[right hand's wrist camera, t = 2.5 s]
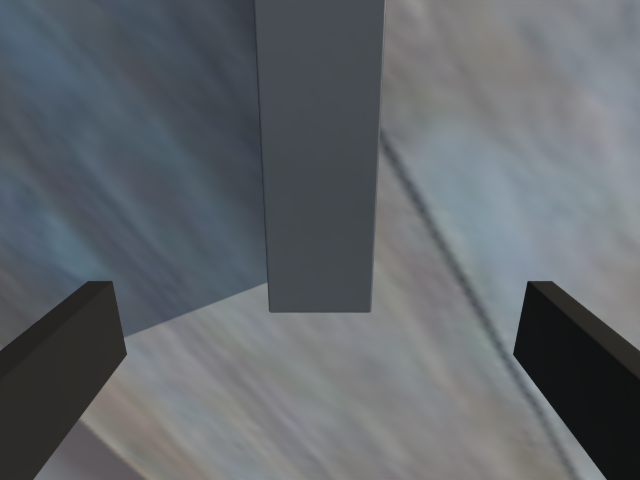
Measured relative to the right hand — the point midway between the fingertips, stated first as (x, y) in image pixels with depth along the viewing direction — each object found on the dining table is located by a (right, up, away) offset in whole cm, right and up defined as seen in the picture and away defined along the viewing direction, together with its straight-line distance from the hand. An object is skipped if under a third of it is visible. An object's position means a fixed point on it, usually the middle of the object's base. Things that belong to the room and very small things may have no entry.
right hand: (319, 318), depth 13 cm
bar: (0, +12, +11) cm, 17 cm away
